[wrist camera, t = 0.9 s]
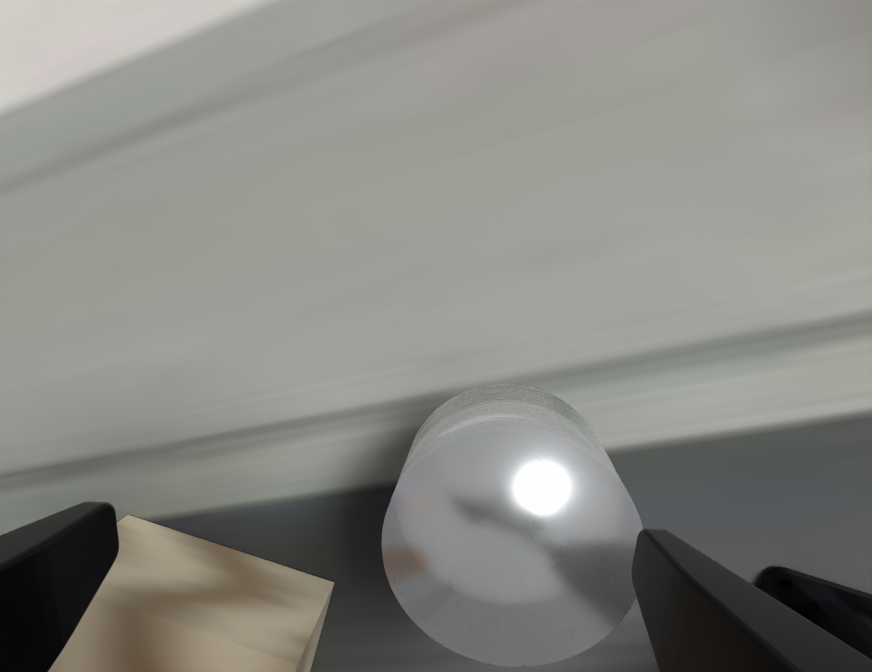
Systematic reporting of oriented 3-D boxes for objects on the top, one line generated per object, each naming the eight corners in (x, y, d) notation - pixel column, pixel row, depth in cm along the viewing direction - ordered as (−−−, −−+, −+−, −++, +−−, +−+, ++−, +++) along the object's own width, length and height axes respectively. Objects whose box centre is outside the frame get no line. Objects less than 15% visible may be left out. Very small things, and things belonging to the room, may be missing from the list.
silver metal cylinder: (608, 383, 20) (687, 477, 12) (554, 529, 21) (592, 699, 13) (447, 335, 20) (420, 395, 12) (403, 481, 21) (354, 620, 14)
